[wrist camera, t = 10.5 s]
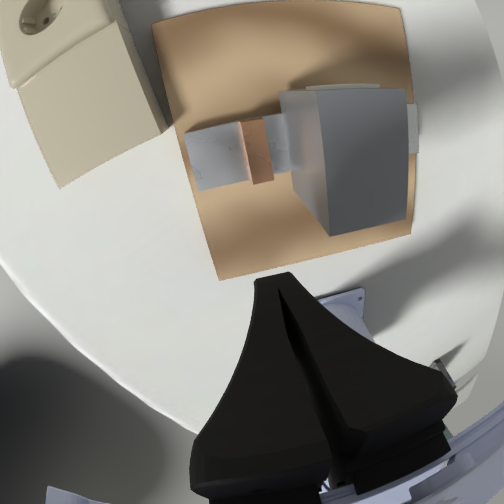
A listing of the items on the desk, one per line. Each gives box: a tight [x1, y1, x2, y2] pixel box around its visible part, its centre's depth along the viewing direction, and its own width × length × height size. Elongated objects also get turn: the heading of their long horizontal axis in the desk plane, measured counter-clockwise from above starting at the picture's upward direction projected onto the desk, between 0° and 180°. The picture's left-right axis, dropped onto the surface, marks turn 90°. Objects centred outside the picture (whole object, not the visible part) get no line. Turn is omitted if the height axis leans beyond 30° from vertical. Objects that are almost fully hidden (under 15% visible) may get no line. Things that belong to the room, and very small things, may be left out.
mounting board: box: [151, 0, 415, 281], centre depth 17 cm, size 18×16×1 cm
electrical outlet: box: [0, 0, 168, 189], centre depth 10 cm, size 7×4×18 cm
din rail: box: [183, 103, 419, 192], centre depth 15 cm, size 4×15×2 cm, turn 101°
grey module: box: [278, 84, 409, 237], centre depth 13 cm, size 6×4×6 cm, turn 10°
